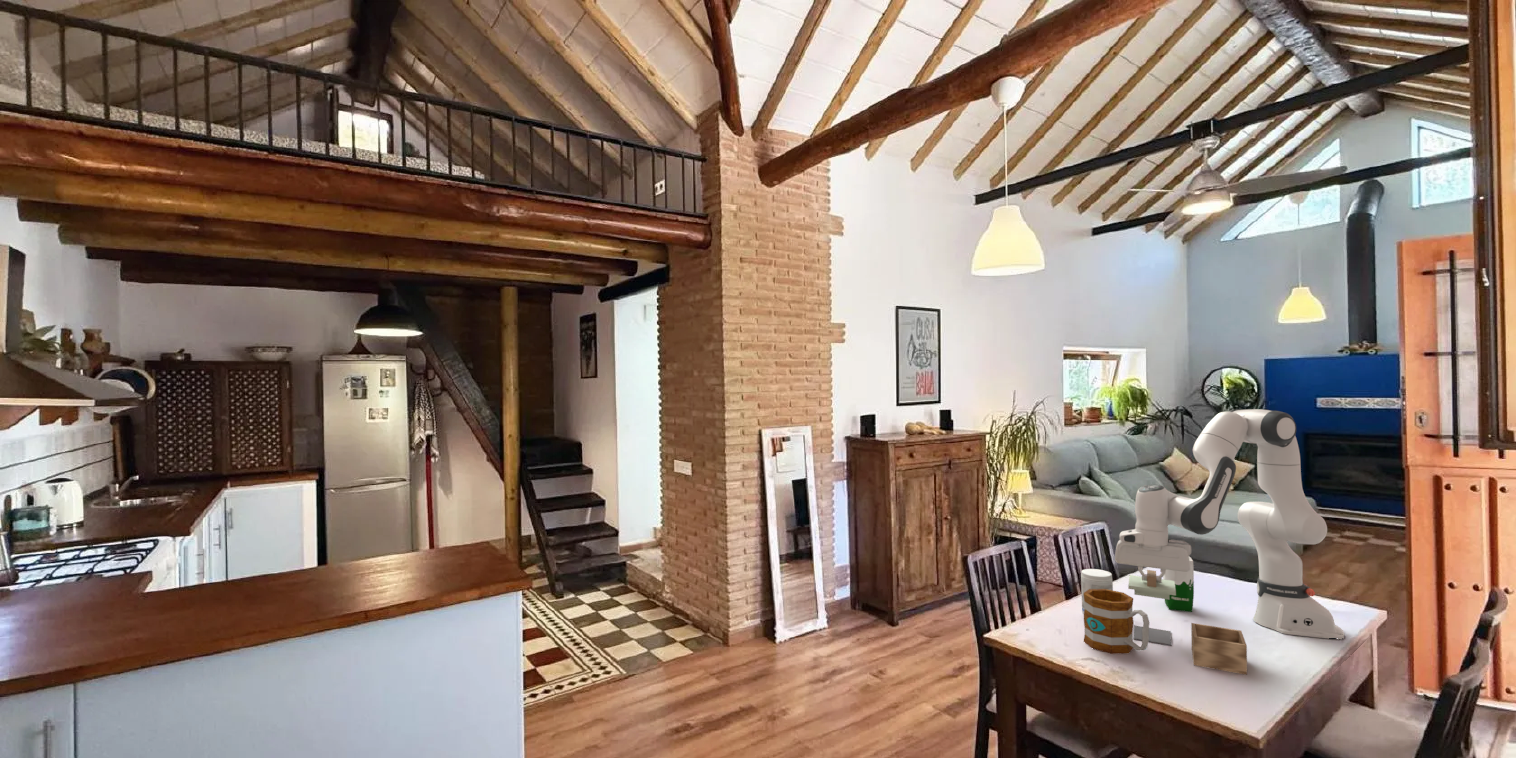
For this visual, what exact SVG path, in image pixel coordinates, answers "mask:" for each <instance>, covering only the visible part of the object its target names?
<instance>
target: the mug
mask: <svg viewBox="0 0 1516 758" xmlns="http://www.w3.org/2000/svg"><path fill="white" fill-rule="evenodd" d="M1083 594H1084V602H1085V609H1084V614H1083V625H1084V636H1083V643H1084V642H1085V644H1086V645H1087V646H1088V647H1089V648H1091V649H1092V648H1093V649H1092V650H1095V649H1096V650H1095V651H1100V652H1103V653H1107V654H1111V655H1115V654H1116V655H1118V654H1121V655H1123V654H1124V655H1125V654H1128V655H1129V654H1130V653H1132V651H1133V649H1134V650H1136V651H1145V650H1146V649H1147V648H1148V646H1149V642H1148V638H1149V628H1150V620H1149V616H1148V614H1147V613H1146V612H1145V611H1143V610H1142V609H1134V610H1133V605H1134V604H1133V603H1134V598H1133V597H1132V596H1130V595H1128V594H1127V593H1125V592H1123V591H1117V590H1114V589H1113V590H1108V589H1088V590H1087V591H1086V592H1084V593H1083ZM1136 615H1140V617H1141V618H1142V623H1143V624H1142V627H1143V630H1142V641H1141V644H1140V645H1138V644H1137V643H1136V642H1134V641H1133V640H1134V639H1133V638H1134V636H1133V633H1134V617H1135V616H1136Z"/></svg>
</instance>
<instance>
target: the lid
mask: <svg viewBox="0 0 1516 758" xmlns="http://www.w3.org/2000/svg"><path fill="white" fill-rule="evenodd" d="M1146 571H1147V573H1146V574H1147V581H1143V580H1142V575H1140V576H1139V575H1133V574H1130V575H1128V586H1127V587H1128V590H1134V593H1133V595H1135V596H1142V597H1149V598H1155V599H1163V600H1165V599H1168V600H1169V595H1175V596H1176V589H1175V581H1171V580H1163V578H1162V583H1158V582H1156V576H1157V570H1150V569H1147V570H1146Z"/></svg>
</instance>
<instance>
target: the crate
mask: <svg viewBox="0 0 1516 758" xmlns="http://www.w3.org/2000/svg"><path fill="white" fill-rule="evenodd" d="M1190 623H1191V625H1190V626H1191V627H1190V628H1191V629H1190V630H1191V632H1190V633H1191V656H1192V660H1193V661H1192V662H1193V665H1194V666H1197V667H1200V668H1201V667H1203V668H1207V669H1213V670H1216V671H1217V670H1218V671H1223V672H1230V673H1235V674H1240V675H1245V676H1247V675H1248V653H1247V652H1248V646H1247V643H1246V640H1245V637H1244V634H1243V631H1242V630H1239V629H1232V628H1227V627H1226V628H1225V627H1220V626H1214V625H1207V624H1201V623H1194V622H1190Z"/></svg>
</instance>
